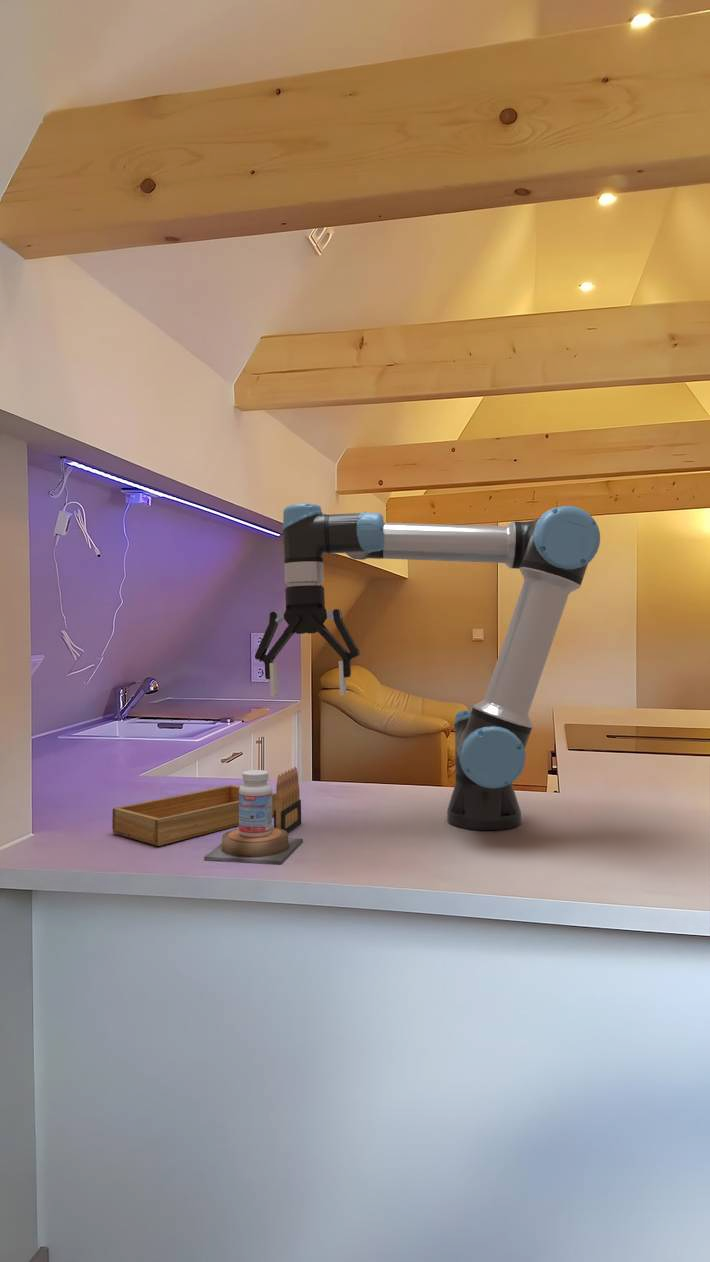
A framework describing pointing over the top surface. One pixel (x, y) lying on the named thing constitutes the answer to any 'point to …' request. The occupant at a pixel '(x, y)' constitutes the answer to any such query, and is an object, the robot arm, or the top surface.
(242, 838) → the plinth
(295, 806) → the colored pencil set
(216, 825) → the tray
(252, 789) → the pill bottle
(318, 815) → the top surface
